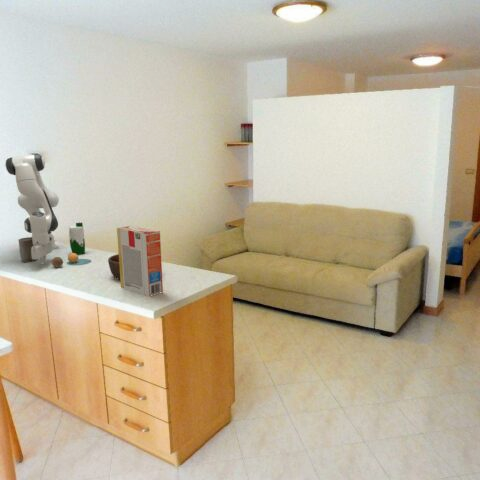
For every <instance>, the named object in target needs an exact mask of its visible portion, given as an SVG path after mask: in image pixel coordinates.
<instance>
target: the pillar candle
mask: <svg viewBox="0 0 480 480" xmlns="http://www.w3.org/2000/svg"><path fill="white" fill-rule="evenodd" d="M18 247H19V253H20V261H21V262H22V263H32V261H33V262H36V260H33V259H32V255H31V249H32V247H33V240H32V236H31V237H29V236H28V237H27V236H26V237H22V238H19V239H18Z"/></svg>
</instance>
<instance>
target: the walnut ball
mask: <svg viewBox="0 0 480 480" xmlns="http://www.w3.org/2000/svg"><path fill="white" fill-rule="evenodd" d="M63 263H64V261H63V258H62V257H60V256H56V257H53V258H52V260H51V264H52V267H54V268H61V267H62V266H63Z"/></svg>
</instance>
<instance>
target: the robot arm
mask: <svg viewBox="0 0 480 480" xmlns="http://www.w3.org/2000/svg"><path fill="white" fill-rule="evenodd" d="M45 165H46V162H45V159H44V158H43V155H41V154H40V153H35V154H23V155H18V156H14V157H9V158H8V157H7V159H6V160H5V165H4V166H5V169H6V171H7V173H8V174H10V175H12V176H15V182H16V187H17V190H18V192H19V193H20V194H19V195H18V196H17V204H18V206H19V207H20V208H21V209H23V210H25V212H26V213H27V214H28V215H29V217H27V218H25V220H24V221H23V223H24V231H26V232H27V233H30V234H31V237H32V240H33V247H32V249H31V255H32V259H33V260H37V261H39V262H40V264H41V265H44V264H45V263H47V262H46V259H47V255H48V254H50V253H52V251H53V249H58V248H59V245H57V244H56V240H55V236H54V235H53V234H52V232H55V230H57V229H58V227H59V222H58V218H57V217H56V214H55V213H54V210H53V208H56V207H57V206H58V205H59V202H60V201H59V199H60V198H59V196H58V194H57V193H56V192H55V191H54V192H53V191H51V189H49V188H48V187H47V186H46V185H45V183H44V181H43V179H42V176H41V173H40V172H42V171H43V170H44V169H45ZM41 209H43V211H44V212H42V211H41Z"/></svg>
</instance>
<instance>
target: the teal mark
mask: <svg viewBox="0 0 480 480" xmlns="http://www.w3.org/2000/svg"><path fill="white" fill-rule="evenodd" d="M91 262H92V259H88V258H78V261H77V262H76V263H71V262H69V261H67V262H66V265H68V266H82V265H87V264H90V263H91Z"/></svg>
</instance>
